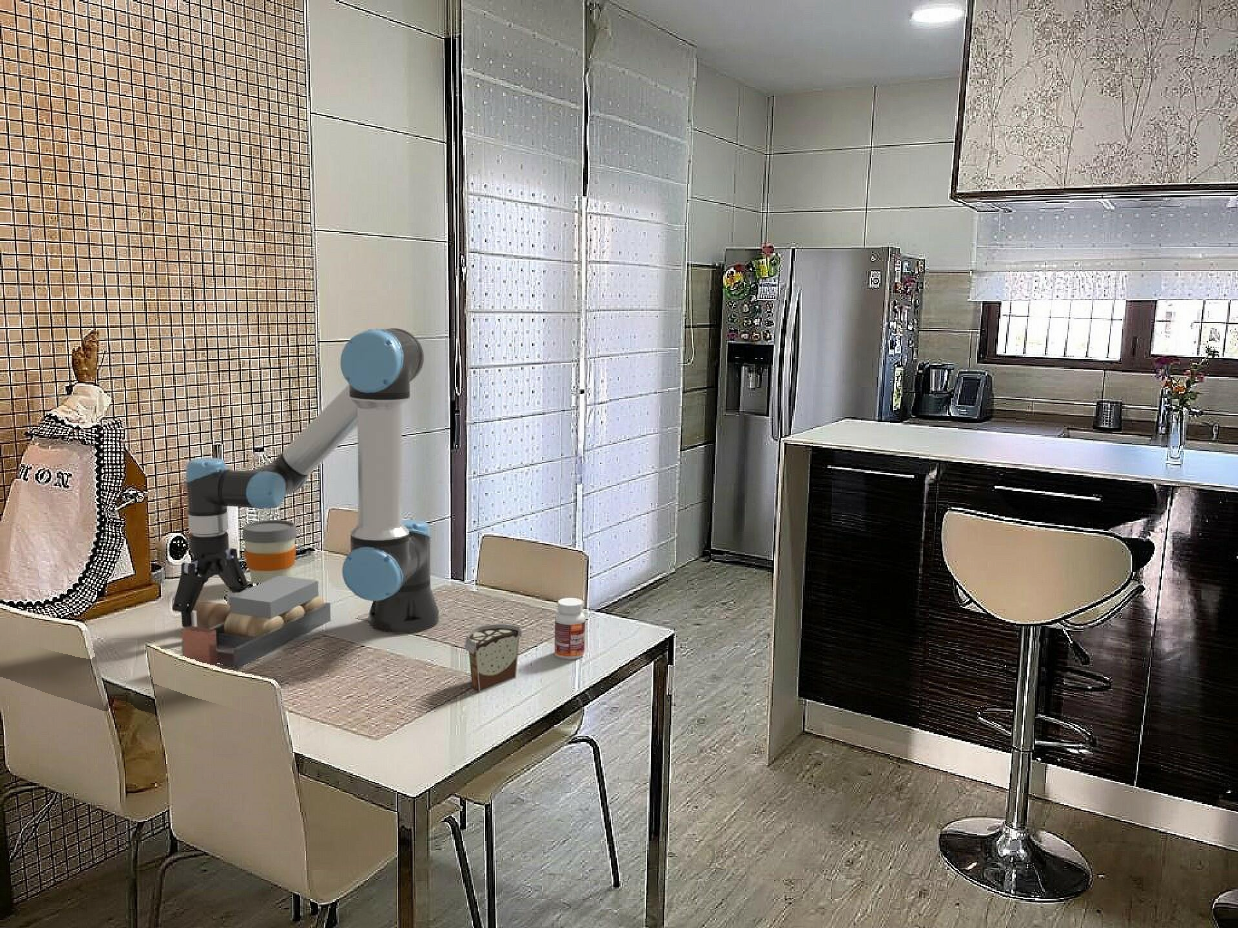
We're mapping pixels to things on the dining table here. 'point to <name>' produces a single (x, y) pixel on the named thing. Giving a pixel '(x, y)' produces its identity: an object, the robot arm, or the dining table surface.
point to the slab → (273, 597)
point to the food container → (492, 655)
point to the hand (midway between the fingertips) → (213, 630)
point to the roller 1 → (210, 613)
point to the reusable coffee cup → (269, 549)
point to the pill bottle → (570, 629)
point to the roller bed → (247, 639)
